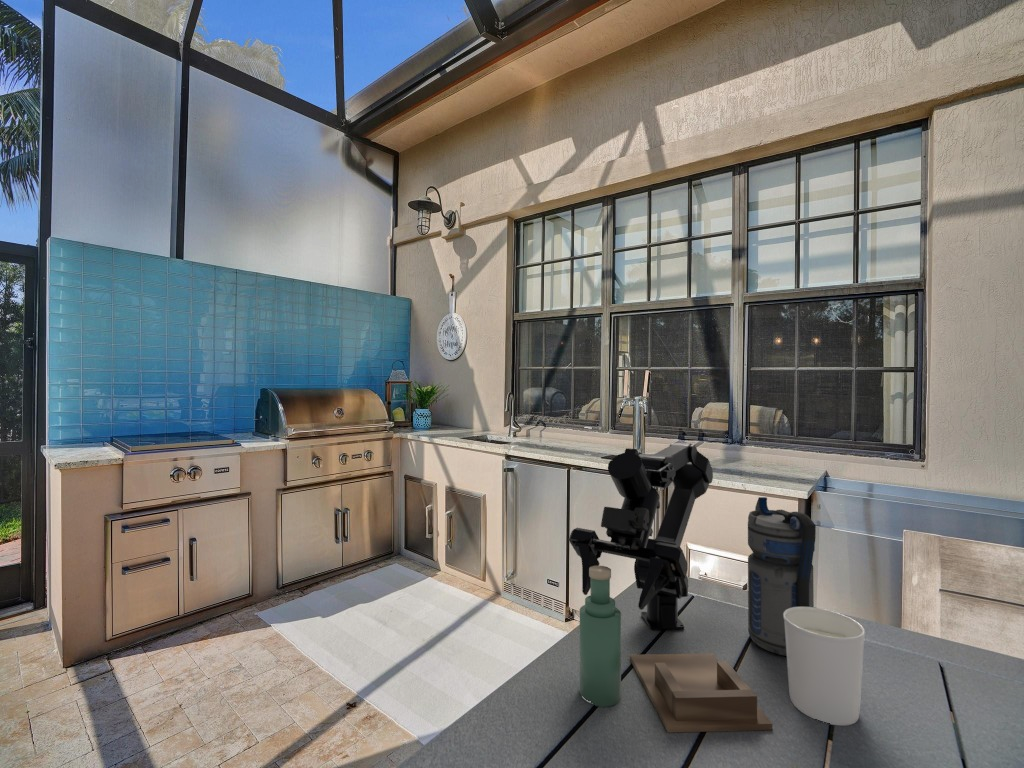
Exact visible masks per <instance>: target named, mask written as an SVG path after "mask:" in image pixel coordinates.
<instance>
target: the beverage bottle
mask: <svg viewBox="0 0 1024 768" xmlns="http://www.w3.org/2000/svg"><path fill="white" fill-rule="evenodd" d="M816 528H817V527H816V524H815V523H814V521H813V520H812V519H811V518H810V516H809V515H808V514H807V513H806V514H805V513H803V512H800V511H787V510H784V509H776V510H775V509H769V507H768V497H766V496H765V497H764V496H763V497H759V496H758V499H757V501H756V505H755V510H752V511H750V512H749V514H748V517H747V545H748V546H749V549H750V550H751V551H752V553H751V554H749V555H748V557H747V602H748V603H747V615H748V617H747V624H748V625H747V627H748V628H747V629H748V635H749V637H750V638H751V640H752V642H753V643H754V644H756V645H757V646H758V647H760V648H762V649H763V650H764V651H768V652H769V653H772V654H776V655H780V656H784V657H785V656H786V657H787V655H786V641H785V627H784V618H783V613H784V611H785V610H787V609H789V608H792V607H814V605H815V604H814V565H813V560H814V559H813V558H814V552H815V551H816V550H815V547H816V546H815V543H816V534H817V533H816Z"/></svg>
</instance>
